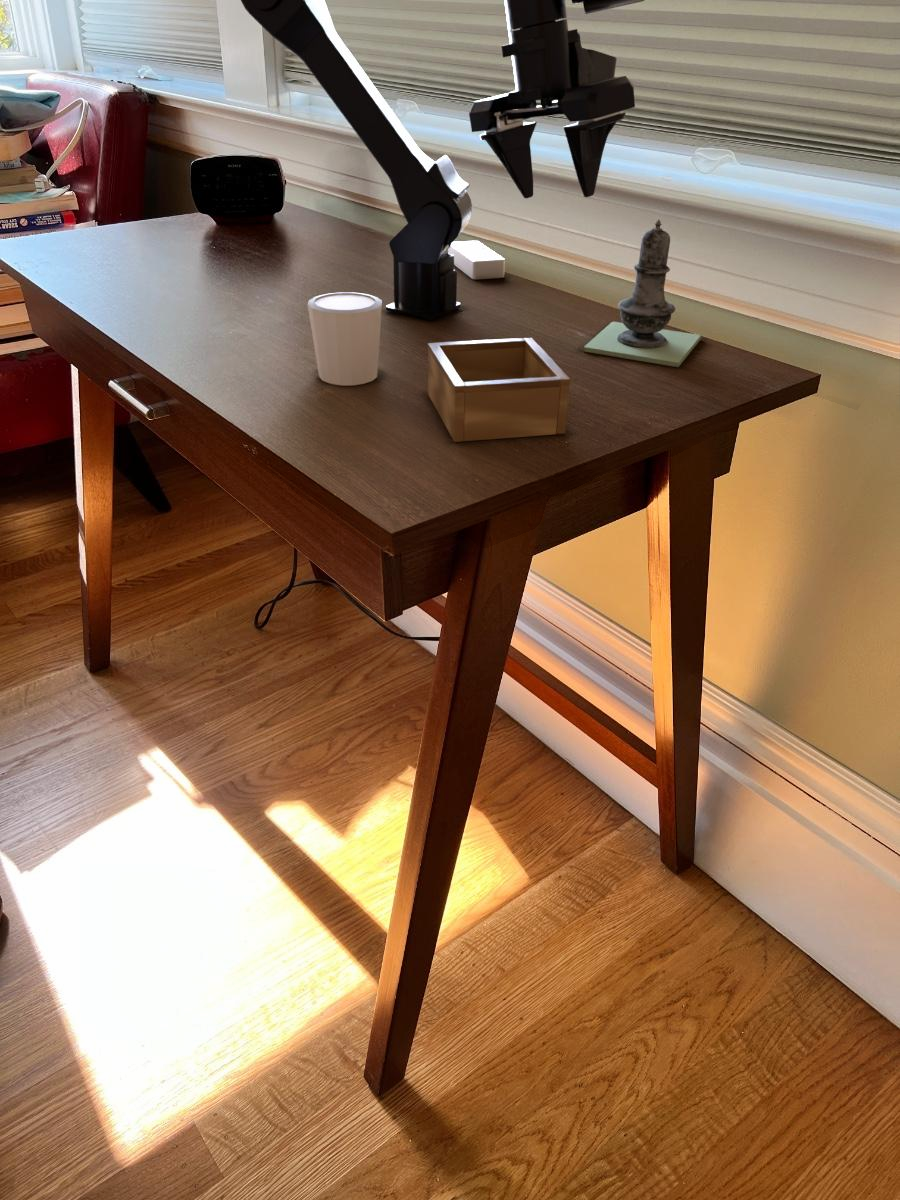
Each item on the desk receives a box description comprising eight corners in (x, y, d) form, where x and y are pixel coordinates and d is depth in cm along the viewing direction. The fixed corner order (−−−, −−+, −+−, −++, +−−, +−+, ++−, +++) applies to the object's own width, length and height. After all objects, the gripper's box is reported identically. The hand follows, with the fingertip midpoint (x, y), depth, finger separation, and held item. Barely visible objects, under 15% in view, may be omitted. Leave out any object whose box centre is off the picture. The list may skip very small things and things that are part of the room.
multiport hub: (473, 279, 117) (473, 261, 115) (447, 259, 125) (447, 241, 124) (505, 277, 118) (506, 259, 116) (477, 257, 126) (477, 240, 125)
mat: (583, 351, 94) (583, 346, 94) (611, 325, 101) (612, 321, 101) (678, 367, 90) (679, 362, 90) (700, 339, 98) (701, 334, 98)
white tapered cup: (355, 393, 83) (352, 316, 79) (297, 378, 86) (291, 303, 82) (398, 371, 88) (397, 298, 84) (341, 358, 91) (338, 286, 87)
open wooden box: (427, 394, 83) (427, 342, 80) (528, 387, 85) (531, 337, 82) (453, 442, 74) (454, 386, 72) (565, 434, 76) (571, 379, 74)
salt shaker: (681, 342, 95) (701, 221, 89) (645, 353, 92) (663, 228, 86) (638, 328, 99) (654, 211, 92) (602, 338, 96) (616, 217, 89)
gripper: (668, -4, 84) (677, 176, 92) (533, 26, 98) (552, 181, 106) (583, 15, 79) (601, 203, 87) (454, 44, 93) (480, 205, 101)
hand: (557, 196), depth 96 cm, fingers open, 9 cm apart
